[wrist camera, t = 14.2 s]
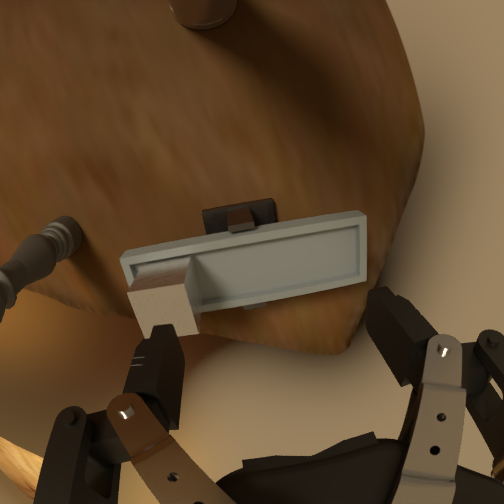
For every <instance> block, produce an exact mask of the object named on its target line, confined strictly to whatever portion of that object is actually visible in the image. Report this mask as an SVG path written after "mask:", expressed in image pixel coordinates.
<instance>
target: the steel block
mask: <svg viewBox="0 0 504 504" xmlns="http://www.w3.org/2000/svg"><path fill="white" fill-rule="evenodd" d="M127 295H128V297H129V300H130V303H131V305H132V308H133V310H134V313H135V315H136V318H137V320H138V323H139V325H140V328H141V330H142V332H143V335H144V337H145V339H147V338H150V335H151V332H152V328H153V326H154V325H163V324H173V326H174V328H175V331H176V334H177V336H185V335H193V334H199V327H200V318H201V308H202V299H203V294H202V290H201V286H200V282H199V278H198V274H197V270H196V267H195V263H194V258H193V254H186V255H181V256H175V257H170V258H164V259H159V260H153V261H148V262H144V263H143V265H142V267H141V268H140V270H139V272H138V273H137V275H136V277H135V279H134V280H133V282H132V284H131V286H130V288H129V289H128V291H127Z"/></svg>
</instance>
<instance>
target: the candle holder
mask: <svg viewBox="0 0 504 504" xmlns="http://www.w3.org/2000/svg"><path fill="white" fill-rule="evenodd" d="M81 242H82V232H81V228H80V226H79V224H78V223H77V222H76V221H75V220H74V219H73V218H71V217H68V216H60V217H59V218H57V219H55V220H54V221H52V222H50V223H49V224H48V225H46V227H45V228H44V229H43V230H42V231H41V233H40V234H35V235H30V236H28V237H27V238H26V239H25V240H24V241H23V242H22V243H21V245H20V246H19V248H18V249H17V250H16V252H15V253H14V254H13V256H12V257H11V258H10V260H9V261H8V262H7V263H5V264H4V265H3V266H1V267H0V323H1V322H2V318H3V315H4V312H5V309H10V308H11V307H13V306H14V305H15V301H16V299H17V294H18V293H19V292H20V291H21V290H22V289H23V288H24V287H25V286H27V285H29V284H31V283H33V282H35V281H38V280H40V279H42V278H45V277H46V276H48V275H49V274H51V273H52V271H53V269H54V267H55V265H56V262H60V261H62V260H63V259H66V258H67V257H69V256H70V255H71V254H73V253H74V252H75V251H76V250H77V249H78V248H79V246H80V245H81Z"/></svg>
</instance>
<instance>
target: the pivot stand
mask: <svg viewBox="0 0 504 504" xmlns="http://www.w3.org/2000/svg"><path fill="white" fill-rule="evenodd" d="M202 216H203V220H204V225H205V230H206V235H209V234H215V233H220V232H226V231H229V233H231V232H236V231H242V230H248V229H254V228H255V226H260V225H266V224H272V223H276V220H275V213H274V205H273V199H272V198H268V199H262V200H256V201H250V202H244V203H238V204H233V205H227V206H222V207H216V208H211V209H205V210H202ZM266 306H267V302H261V303H256V304H250V305H244V306H243V307H244V310H249V309H255V308H260V307H266Z"/></svg>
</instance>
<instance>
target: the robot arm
mask: <svg viewBox="0 0 504 504" xmlns="http://www.w3.org/2000/svg"><path fill="white" fill-rule="evenodd" d="M167 1H168V3H169V6H170V8H171V10H172V13H173V15H174V17H175V19H176V20H177V21H178V22H179V23H180V24H182V25H183V26H185V27H188V28H191V29H199V30H203V29H210V28H214V27H217V26H219V25H221V24H223V23H224V22H226V21H227V20H228V19H229V18H230V17H231V16H232V15H233V13H234V11H235V8H236V3H237V0H167ZM365 324H366V329H367V332H368V334H369V335H370V337H371V338H372V340H373V342H374V343H375V345H376V347H377V348H378V350H379V352H380V353H381V354H382V356H383V358H384V360H385V361H386V363H387V364H388V366H389V368H390V369H391V371H392V373H393V374H394V376H395V378H396V379H397V381H398V383H399V384H400V386H401V387H403V386H405V385H408V384H412V386H413V389H412V392H411V396H410V400H409V405H408V408H407V412H406V416H405V419H404V423H403V427H402V430H401V432H400V435H399V437H398V440H395V439H386V438H385V439H376V437H375V434H374V432H369V433H366V434H363V435H360V436H357V437H354V438H350V439H347V440H343V441H342V442H340V443H337V444H336V445H334V446H332V447H330V448H328V449H326V450H324V451H322V452H319V453H317V454H315V455H312V456H277V455H275V456H269V457H263V458H255V459H247V460H242V462H243V468H241V469H238V470H236V471H234V472H231V473H229V474H228V475H226V476H224V477H223V478H221V479H220V480H219V481H217V482H216V483H214V482H213V481H212V480H211V479H210V478H209V477H208V476H207V475H206V474H205V473H204V471H203V470H202V469H201V468H200V467H199V466H198V465H197V464H196V463H195V462H194V461H193V460H192V459H191V458H190V456H189V455H188V454H187V453H186V452H185V451H184V450H183V448H181V446H180V445H179V444H178V443H177V442H176V440H175V439H174V438H173V437H172V436H171V435H169V430H178V429H179V418H180V408H181V397H182V388H183V378H184V369H185V359H184V354H183V350H182V348H181V345H180V342H179V339H178V337H177V334H176V331H175V328H174V326H173V324H163V325H154V326H153V328H152V332H151V335H150V338H147V339H143V340H142V341H141V343H140V344H139V345H138V346H137V347H136V350H135V353H134V356H133V358H134V359H133V360H132V363H131V367H130V369H129V373H128V376H127V379H126V383H125V386H124V390H123V393H122V394H121V395H118V396H116V397H115V398H114V399H112V401H111V402H110V403H109V405H108V407H107V409H106V410H103V411H99V412H95V413H91V414H86V412H85V411H84V410H83V409H82V408H80V407H77V406H71V407H68V408H65V409H64V410H62V411H61V412H60V413H59V414H58V416H57V417H56V420H55V423H54V426H53V429H52V432H51V435H50V439H49V442H48V445H47V449H46V452H45V456H44V460H43V463H42V467H41V471H40V475H39V479H38V484H37V488H36V493H35V498H34V503H33V504H118V491H119V480H120V470H121V463H123V462H127V461H131V463H132V464H133V466H134V468H135V469H136V471H137V472H138V473H139V475H140V476H141V478H142V479H143V481H144V482H145V484H146V485H147V486H148V488H149V489H150V490H151V492H152V493H153V495H154V496H155V497H156V499H157V500H158V501H159V503H160V504H504V336H503V334H501V333H500V332H498V331H495V330H484V331H482V332H481V333H480V334H479V336H478V339H477V341H476V342H471V343H460V342H459V341H458V340H457V339H456V338H454V337H453V336H450V335H446V334H438V332H437V331H436V330H435V329H434V328H433V327H432V326H431V325H430V323H429V322H428V321H427V320H426V319H425V318H424V317H423V316H422V315H421V314H420V312H419V311H418V310H417V309H415V307H414V306H413V305H412V303H411V302H410V301H409V300H407V299H405V298H403V297H401V296H399V295H397V296H395V295H394V294H393V293H392V292H391V291H390V289H389V288H388V287H386V286H385V287H381V288H376V289H372V290H369V292H368V296H367V308H366V318H365ZM492 378H493V379H494V381H495V382H496V383H497V385H498V386H499V388H500V389H501V391H502V393H503V400H502V399H501V398H500V397H499V395H498V393H497V392H496V391H495V389H494V388H493V386H492V385H491V383H490V380H491V379H492ZM465 406H466V408H467V409H468V411H469V413H470V415H471V416H472V418H473V420H474V422H475V423H476V425H477V427H478V429H479V431H480V432H481V434H482V436H483V438H484V440H485V442H486V443H487V445H488V447H489V449H490V451H491V453H492V455H493V457H494V460H493V464H492V468H493V470H492V471H491V477H489V476H486V475H483V474H480V473H478V472H475V471H472V470H470V469H467V468H464V467H462V466H459V465H457V462H458V458H459V452H460V445H461V440H462V432H463V425H464V415H465Z"/></svg>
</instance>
